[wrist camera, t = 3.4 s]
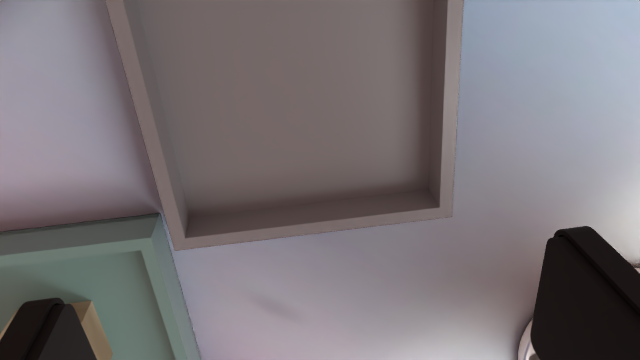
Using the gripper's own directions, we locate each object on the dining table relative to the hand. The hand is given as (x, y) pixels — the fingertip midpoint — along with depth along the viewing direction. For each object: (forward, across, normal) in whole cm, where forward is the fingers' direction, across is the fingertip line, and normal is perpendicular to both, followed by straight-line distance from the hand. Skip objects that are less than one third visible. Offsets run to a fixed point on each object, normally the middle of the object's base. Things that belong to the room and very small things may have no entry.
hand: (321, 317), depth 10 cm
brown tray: (+17, -1, +1) cm, 17 cm away
